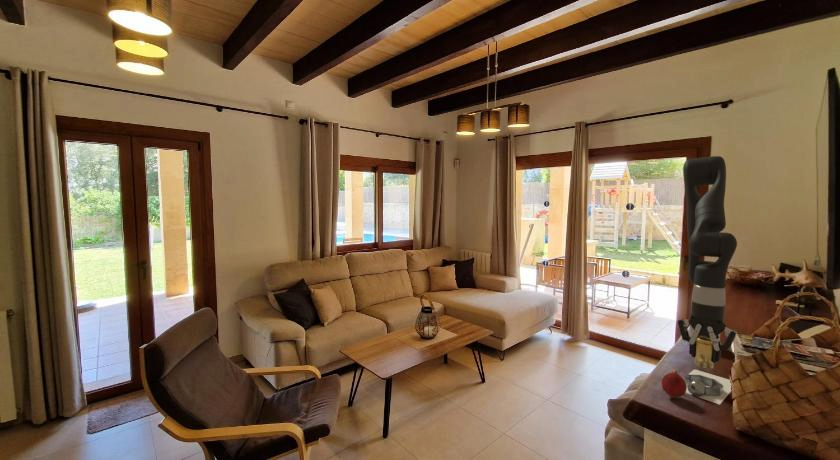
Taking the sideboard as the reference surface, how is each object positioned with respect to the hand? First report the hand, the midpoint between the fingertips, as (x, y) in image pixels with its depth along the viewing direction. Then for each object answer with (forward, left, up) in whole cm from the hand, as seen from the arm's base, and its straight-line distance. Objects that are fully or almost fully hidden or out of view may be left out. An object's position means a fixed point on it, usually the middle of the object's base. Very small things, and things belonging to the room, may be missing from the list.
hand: (704, 359), depth 106 cm
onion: (+11, -4, -10) cm, 15 cm away
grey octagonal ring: (+1, 0, -9) cm, 9 cm away
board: (-3, 0, -10) cm, 10 cm away
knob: (0, 0, -2) cm, 2 cm away
